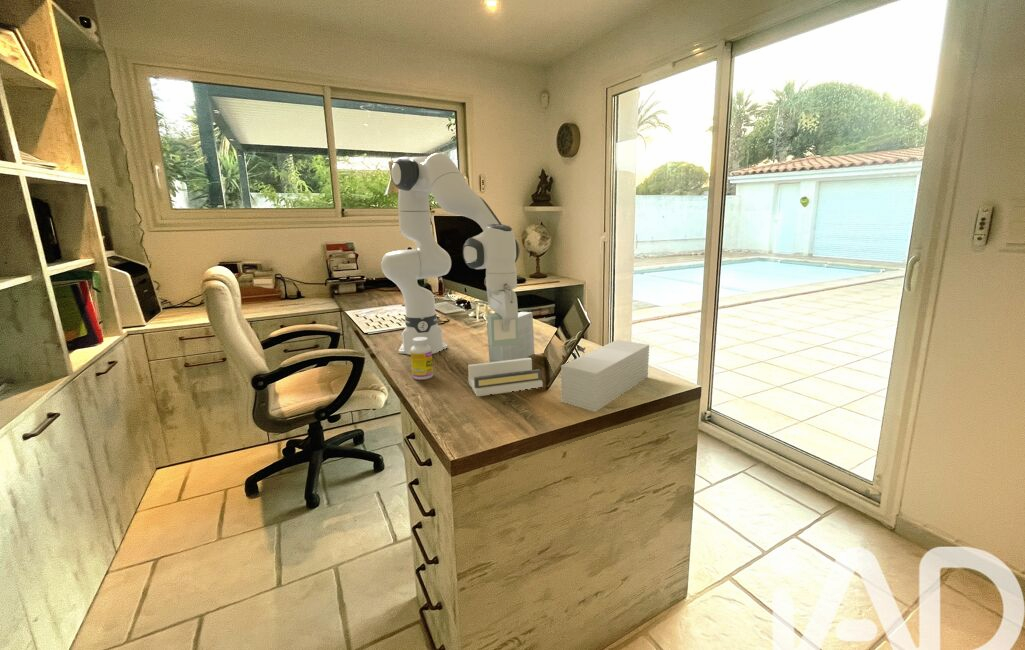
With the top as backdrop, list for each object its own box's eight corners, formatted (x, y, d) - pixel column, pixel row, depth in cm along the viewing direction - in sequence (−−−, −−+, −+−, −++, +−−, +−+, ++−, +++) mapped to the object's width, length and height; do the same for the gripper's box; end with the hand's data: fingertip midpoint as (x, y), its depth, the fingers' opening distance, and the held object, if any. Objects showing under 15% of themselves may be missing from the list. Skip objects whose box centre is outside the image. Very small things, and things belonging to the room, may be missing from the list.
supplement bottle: (428, 381, 139) (425, 341, 136) (409, 380, 140) (405, 341, 137) (436, 373, 145) (433, 336, 142) (417, 372, 146) (414, 335, 143)
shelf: (468, 382, 137) (467, 363, 135) (529, 374, 142) (529, 356, 141) (476, 396, 125) (475, 376, 124) (542, 387, 131) (542, 368, 129)
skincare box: (522, 352, 167) (522, 310, 163) (534, 354, 163) (534, 312, 160) (487, 367, 150) (486, 322, 146) (500, 370, 147) (499, 324, 143)
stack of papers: (595, 412, 114) (596, 373, 111) (561, 402, 120) (561, 365, 118) (647, 377, 137) (649, 344, 135) (616, 371, 144) (617, 339, 142)
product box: (514, 340, 134) (513, 311, 132) (518, 344, 129) (517, 314, 127) (488, 343, 132) (487, 313, 130) (492, 347, 127) (490, 316, 125)
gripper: (523, 286, 117) (524, 336, 121) (502, 277, 137) (504, 320, 140) (500, 287, 116) (501, 338, 119) (483, 278, 135) (484, 322, 138)
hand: (503, 328), depth 130 cm, fingers closed on product box, 5 cm apart
